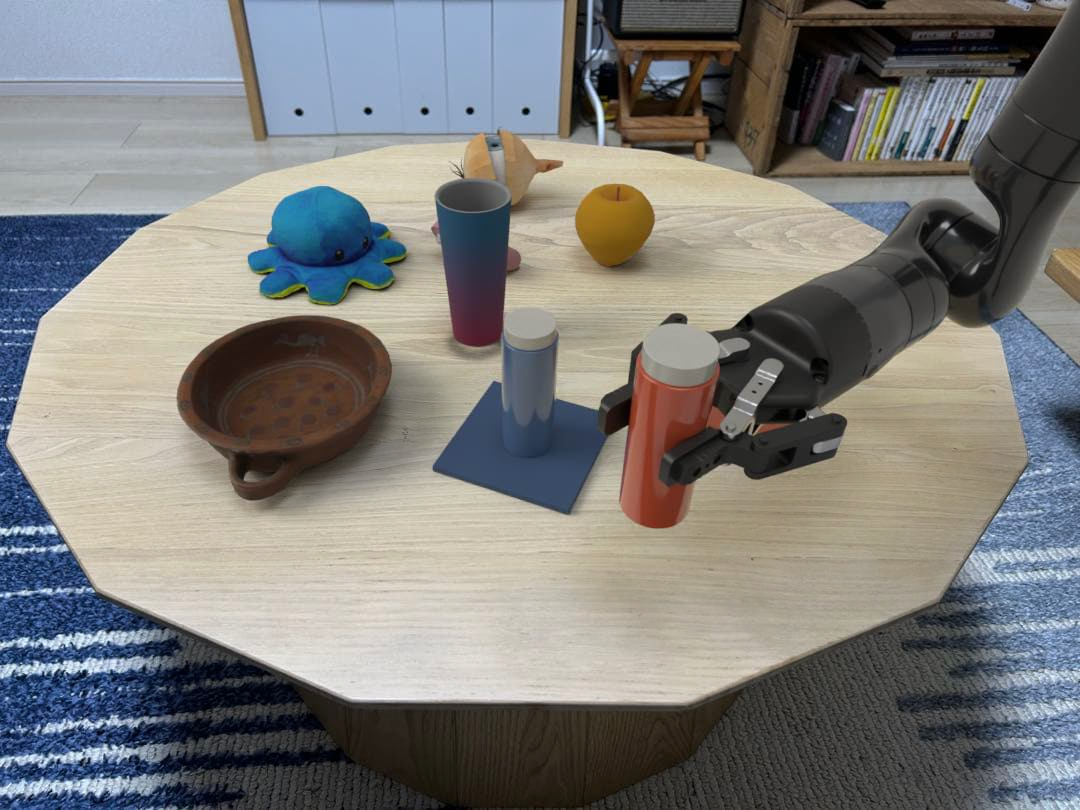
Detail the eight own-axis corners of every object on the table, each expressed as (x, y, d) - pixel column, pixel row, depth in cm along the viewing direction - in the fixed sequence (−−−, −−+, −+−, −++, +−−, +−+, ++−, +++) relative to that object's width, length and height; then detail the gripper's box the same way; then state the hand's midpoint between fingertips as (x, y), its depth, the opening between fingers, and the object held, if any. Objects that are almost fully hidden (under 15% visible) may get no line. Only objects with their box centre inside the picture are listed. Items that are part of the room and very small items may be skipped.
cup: (457, 358, 74) (449, 218, 65) (435, 320, 79) (424, 184, 69) (521, 342, 77) (523, 204, 67) (496, 306, 81) (494, 172, 71)
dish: (408, 342, 76) (404, 299, 73) (381, 511, 60) (374, 467, 56) (230, 341, 76) (217, 299, 72) (153, 513, 59) (132, 468, 56)
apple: (653, 282, 86) (663, 208, 80) (573, 279, 86) (577, 206, 80) (646, 242, 92) (655, 171, 86) (572, 239, 92) (576, 168, 86)
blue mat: (615, 420, 68) (616, 415, 68) (568, 515, 60) (569, 510, 60) (493, 385, 72) (493, 380, 71) (432, 470, 63) (432, 465, 63)
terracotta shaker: (697, 488, 49) (731, 332, 41) (679, 538, 46) (714, 380, 38) (630, 468, 50) (652, 313, 42) (609, 516, 47) (628, 358, 39)
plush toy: (286, 220, 94) (272, 154, 89) (421, 233, 92) (415, 167, 87) (224, 294, 82) (204, 223, 76) (378, 311, 80) (369, 240, 75)
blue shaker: (561, 430, 66) (568, 313, 58) (542, 463, 63) (546, 345, 55) (514, 416, 68) (515, 300, 60) (493, 448, 64) (491, 331, 56)
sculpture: (431, 130, 96) (548, 97, 95) (452, 191, 103) (560, 161, 102) (439, 174, 90) (562, 139, 89) (460, 234, 97) (575, 203, 96)
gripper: (749, 242, 52) (553, 329, 44) (943, 344, 44) (744, 474, 36) (729, 332, 57) (549, 425, 49) (900, 439, 49) (717, 572, 41)
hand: (633, 445), depth 42 cm, fingers closed on terracotta shaker, 4 cm apart
